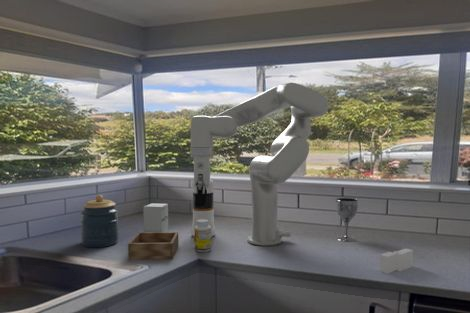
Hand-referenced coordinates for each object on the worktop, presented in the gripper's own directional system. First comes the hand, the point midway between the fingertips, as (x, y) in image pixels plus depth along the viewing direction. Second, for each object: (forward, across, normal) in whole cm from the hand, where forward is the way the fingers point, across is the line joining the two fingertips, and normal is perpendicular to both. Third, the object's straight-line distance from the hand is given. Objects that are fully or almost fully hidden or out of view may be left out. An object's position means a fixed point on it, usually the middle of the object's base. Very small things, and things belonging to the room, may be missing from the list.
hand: (201, 203), depth 129 cm
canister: (+17, +10, +37) cm, 42 cm away
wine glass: (+15, +12, -54) cm, 57 cm away
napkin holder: (+16, -20, -58) cm, 63 cm away
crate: (+16, -2, +15) cm, 22 cm away
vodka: (+16, +19, 0) cm, 25 cm away
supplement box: (+16, +17, +18) cm, 30 cm away
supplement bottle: (+16, 0, -1) cm, 16 cm away
